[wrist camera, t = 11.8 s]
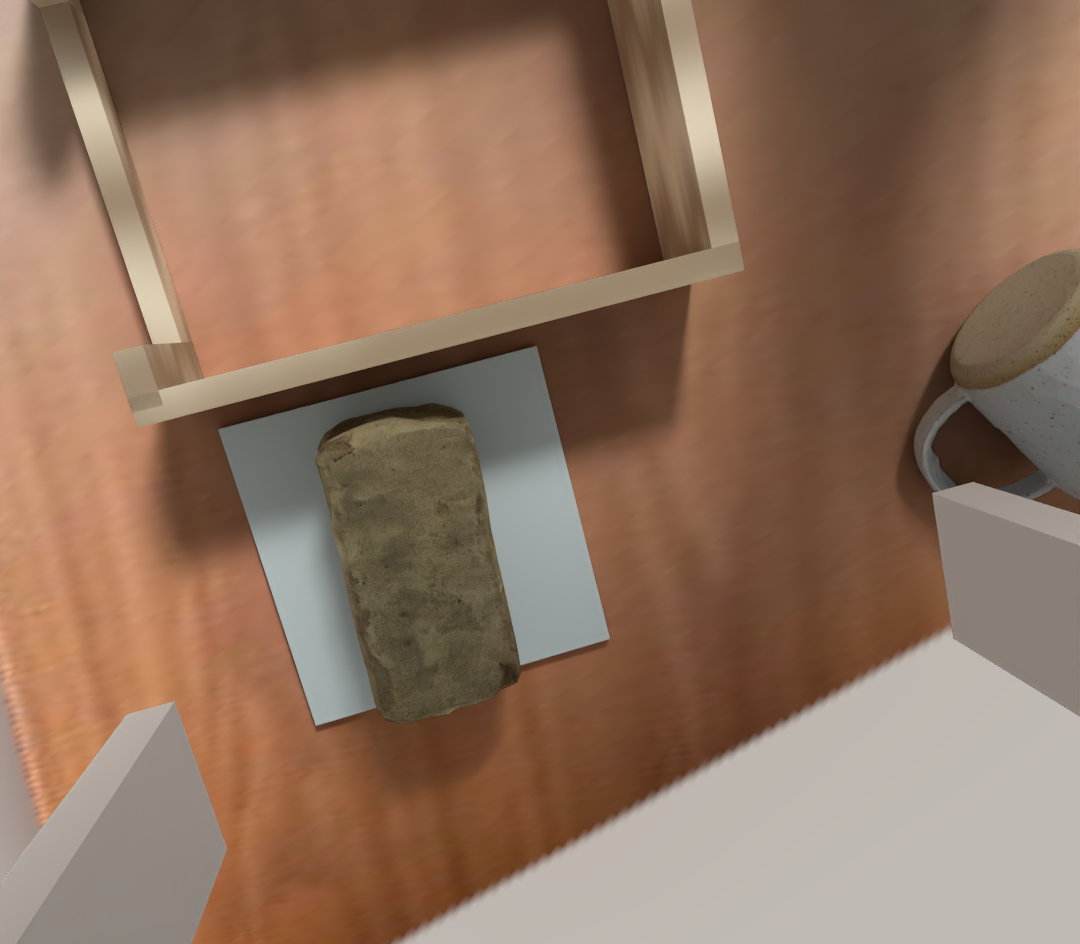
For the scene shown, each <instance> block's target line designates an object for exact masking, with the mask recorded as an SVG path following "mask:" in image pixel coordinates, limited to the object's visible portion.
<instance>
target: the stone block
mask: <svg viewBox="0 0 1080 944" xmlns="http://www.w3.org/2000/svg"><path fill="white" fill-rule="evenodd" d="M317 450H318V455H317V457H316V459H315V462H316V465H317V468H318V471H319V474H320V477H321V481H322V484H323V487H324V491H325V496H326V500H327V504H328V508H329V513H330V518H331V523H332V531H333V534H334V538H335V542H336V545H337V549H338V553H339V557H340V561H341V566H342V571H343V576H344V580H345V585H346V589H347V594H348V598H349V603H350V607H351V611H352V616H353V620H354V625H355V629H356V633H357V637H358V641H359V645H360V649H361V653H362V657H363V660H364V663H365V667H366V670H367V673H368V677H369V682H370V686H371V690H372V694H373V698H374V702H375V705H376V708H377V710H378V713H379V714H381V715H382V716H383V717H384V718H385V719H386V720H387V721H390V722H394V723H410V722H414V721H419V720H422V719H424V718H427V717H432V716H439V715H445V714H449V713H450V712H452V711H454V710H456V709H459V708H462V707H465V706H471V705H475V704H477V703H480V702H483V701H485V700H488V699H491V698H493V697H495V695H496V694H497V692H498V691H499V690H500V689H503V688H506V687H509V686H511V685H513V684H515V683H517V681H518V679H519V676H520V674H521V666H520V660H519V654H518V649H517V643H516V638H515V634H514V630H513V625H512V621H511V616H510V611H509V606H508V602H507V598H506V594H505V589H504V585H503V580H502V576H501V572H500V567H499V563H498V559H497V554H496V549H495V544H494V539H493V535H492V531H491V525H490V518H489V510H488V503H487V497H486V491H485V487H484V482H483V477H482V472H481V467H480V462H479V458H478V453H477V449H476V445H475V441H474V437H473V434H472V431H471V429H470V426H469V423H468V422H467V420H466V418H465V417H464V414H463V412H461V411H459V410H457V409H455V408H453V407H449V406H445V405H440V404H436V403H429V404H423V405H420V406H416V407H397V408H392V409H387V410H383V411H380V412H376V413H372V414H368V415H362V416H359V417H353V418H349V419H346V420H344V421H342V422H340V423H339V424H337V425H336V426H335V427H333V428H332V429H331V430H329V431H327V432H326V433H325V434H324V436H323V438H322V439H321V441H320V443H319V446H318V448H317Z"/></svg>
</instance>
